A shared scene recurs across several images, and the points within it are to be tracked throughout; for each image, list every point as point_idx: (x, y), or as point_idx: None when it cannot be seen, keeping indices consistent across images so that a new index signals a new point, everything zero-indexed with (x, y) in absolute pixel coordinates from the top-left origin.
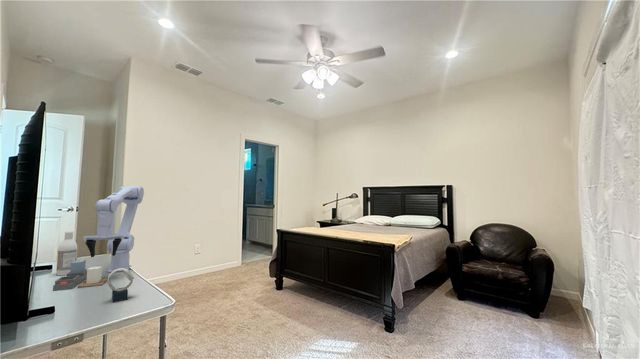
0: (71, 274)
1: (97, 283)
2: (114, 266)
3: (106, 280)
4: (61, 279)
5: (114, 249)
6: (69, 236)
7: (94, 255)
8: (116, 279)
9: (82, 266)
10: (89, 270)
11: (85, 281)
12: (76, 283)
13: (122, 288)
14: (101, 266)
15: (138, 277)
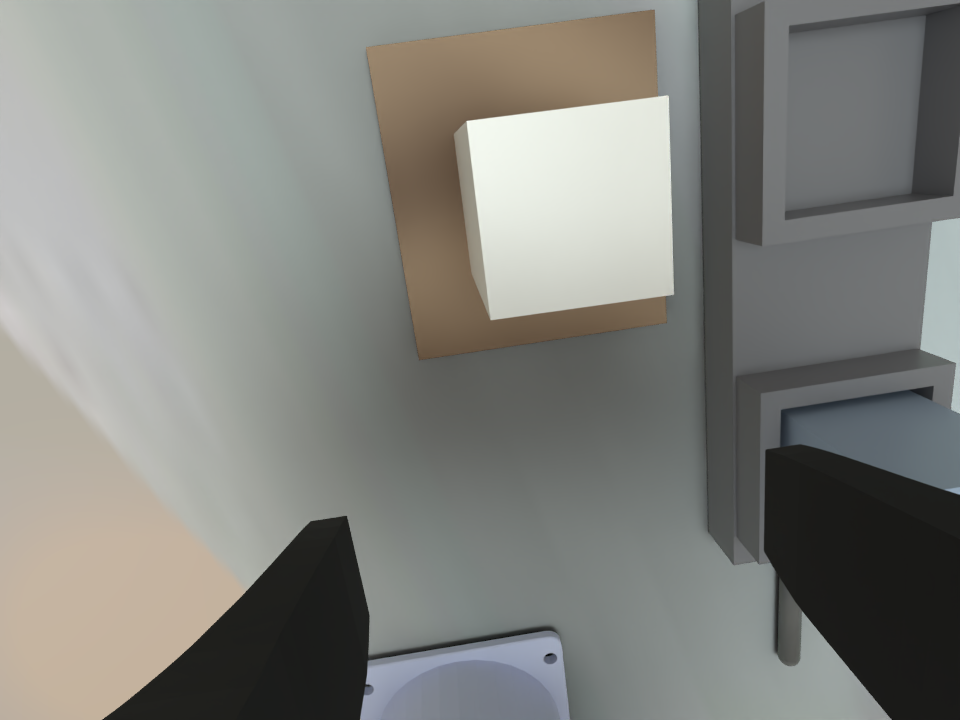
0: (890, 368)
1: (446, 95)
2: (500, 706)
3: (402, 256)
4: (941, 141)
5: (236, 620)
6: None
7: (773, 557)
8: (307, 316)
9: None
10: (621, 102)
11: None
12: (715, 124)
13: None
14: (492, 292)
15: (34, 348)
